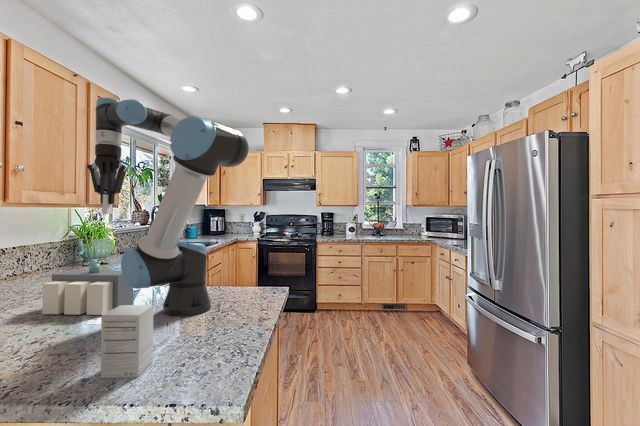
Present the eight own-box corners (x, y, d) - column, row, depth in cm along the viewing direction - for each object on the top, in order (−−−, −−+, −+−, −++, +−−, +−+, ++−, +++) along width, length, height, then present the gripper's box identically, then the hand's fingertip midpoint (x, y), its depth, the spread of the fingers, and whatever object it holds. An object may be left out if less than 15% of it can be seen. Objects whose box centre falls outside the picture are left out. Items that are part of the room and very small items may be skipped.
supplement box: (118, 362, 71) (119, 304, 71) (153, 361, 72) (154, 304, 72) (98, 379, 64) (99, 314, 64) (138, 378, 64) (139, 314, 64)
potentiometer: (101, 271, 114) (101, 259, 114) (95, 273, 111) (96, 260, 111) (93, 271, 114) (93, 259, 114) (87, 273, 111) (87, 260, 111)
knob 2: (127, 303, 116) (127, 276, 116) (102, 314, 102) (103, 284, 102) (113, 303, 116) (113, 276, 116) (86, 314, 102) (87, 284, 102)
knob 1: (88, 302, 116) (88, 276, 116) (58, 314, 102) (58, 284, 102) (73, 302, 116) (74, 276, 116) (42, 314, 102) (42, 283, 102)
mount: (133, 304, 117) (133, 270, 117) (107, 316, 102) (107, 278, 102) (71, 303, 117) (72, 269, 117) (37, 315, 102) (38, 277, 102)
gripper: (81, 142, 107) (80, 213, 107) (120, 142, 107) (119, 214, 107) (97, 147, 115) (95, 213, 115) (133, 147, 115) (132, 214, 115)
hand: (107, 213), depth 111 cm, fingers closed
